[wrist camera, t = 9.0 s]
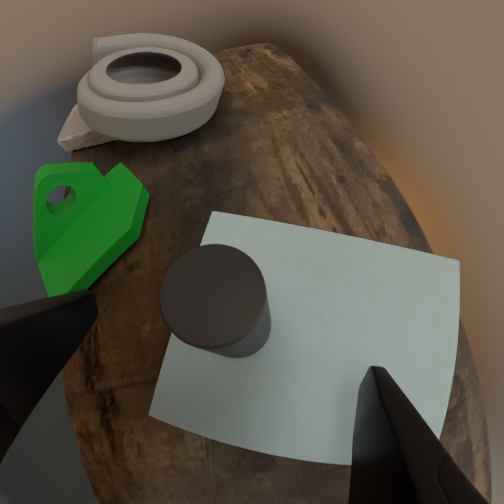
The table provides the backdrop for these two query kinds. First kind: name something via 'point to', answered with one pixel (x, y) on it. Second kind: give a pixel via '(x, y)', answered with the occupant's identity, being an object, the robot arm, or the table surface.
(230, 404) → the pale green slab
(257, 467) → the table surface
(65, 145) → the beige faceted rock
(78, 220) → the bracket
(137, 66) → the turbocharger housing
